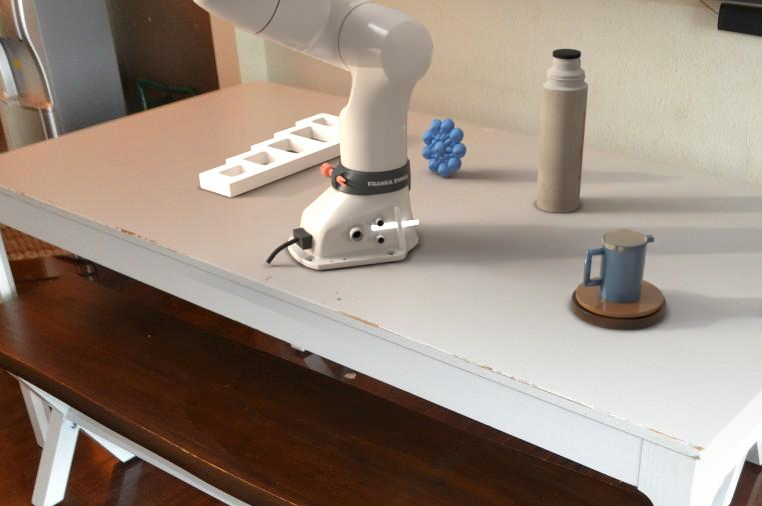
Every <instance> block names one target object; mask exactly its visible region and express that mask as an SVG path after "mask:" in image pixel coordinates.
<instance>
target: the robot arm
mask: <svg viewBox="0 0 762 506" xmlns="http://www.w3.org/2000/svg"><path fill="white" fill-rule="evenodd" d="M192 1H193V2H194V3H195V4H196V5H197V6H198V7H200V8H201V9H203V10H204V11H206V12H207V13H208V14H210V15H212V16H214V17H215V18H217V19H219V20H221V21H223V22H224V23H227V24H229V25H230V26H233V27H234V28H237V29H239V30H242V31H244V32H246V33H249V34H250V35H253V36H256V37H259V38H261V39H263V40H265V41H269V42H271V43H275V44H276V45H278V46H282V47H284V48H287V49H289V50H292V51H295V52H296V53H300V54H303V55H306V56H308V57H310V58H313V59H316V60H318V61H322V62H324V63H326V64H329V65H331V66H334V67H336V68H339V69H342V70H344V71H347V72H348V73H350V75H351V90H350V94H349V98H348V102H347V104H346V105H345V106H344V107H343V108H342V109H341V110H340V113H339V115H338V117H339V136H340V152H341V155H340V160H339V162H338V164H337V165H336V166H335V167H334V166H333V165H331V164H330V163H329V162H323V164H322V165H321V166H320V173H321V174H322V175H324V176H325V177H326V178H327V179H328V178H329V179H330V182H331V185H330V186H329V187H328V188H327V189H326V190H325V191H324V192H323V193H321V194H320V195H319V196H318V197H317V198H315V200H314V201H312V202H311V203H310V204H309V205H308V206H307V207H305V208H304V209H303V211H302V214H301V218H300V224H299V227H298V228H293V229H292V235H291V236H289V238H288V240H287V241H286V242H284V243H282V244H280V245H279V246H278V247H277V248H275V249H274V250H273V251H272V252H271V253H270V254H269V256H268V257H267V259H266V260H265V262H266V263H267V264H268V265H270V264H271V263H272V262H273V260H274V259H275V258H276V257H277V255H278V254H279V253H281V252H282V251H284V250H285V249H286V248H287V250H288V252H289V254H290V255H291V256H292V258H293V259H294V260H296V261H297V262H298V263H300V264H301V265H302V266H304V267H307V268H309V269H313V270H317V271H324V270H332V269H333V270H334V269H341V268H348V267H349V268H350V267H358V266H364V265H372V264H373V265H375V264H382V263H388V262H389V263H391V262H399V261H402V260H404V259H406V257H407V255H408V253H409V251H411V250H412V249H414V248H415V247H417V245H418V243H419V241H420V238H419V235H418V232H417V229H416V225H417V226H418V225H419V220H418V219H415V220H414V217H413V210H412V206H411V196H410V191H411V187H412V171H411V161H410V159H409V158H408V117H409V116H408V115H409V109H410V104H411V99H412V96H413V93H414V90H415V87H416V85H417V83H418V82H419V81H420V80H421V79H423V77H425V75H426V74H427V73H428V70H429V69H430V66H431V63H432V61H433V56H434V44H433V39H432V36H431V34H430V31H429V30H428V29H427V28H426V26H424V24H422V23H421V22H420V21H419V20H417V19H416V18H414V17H413V16H412V15H411V14H410V13H408V12H406V11H405V10H401V9H397V8H395V7H391V6H387V5H384V4H380V3H378V2H375V1H373V0H192Z"/></svg>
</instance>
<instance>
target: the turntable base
mask: <svg viewBox="0 0 762 506" xmlns="http://www.w3.org/2000/svg"><path fill="white" fill-rule="evenodd" d="M570 304H571V310H572V312H573V313H574V315H575V316H576V317H577V318H579V319H581V320H582V321H584V322H586V323H588V324H590V325H593V326H595V327H599V328H604V329H608V330H609V329H610V330H617V331H632V330H640V329H645V328H648V327H652V326H654V325H656V324H657V323H659V322H661V320H662V319H663V318H664V317H665V315H666V309H667V300H666V298H665V296H664V295H663V304H662V306H661V307H660V308H659V309H658V310H657V311H655V312H653V313H651V314H648V315H645V316H641V317H633V318H618V317H610V316H604V315H600V314H597V313H594V312H592V311H589V310H587V309H586V308H584V307H583V306H581V305H580V304H579V303H578V301H577V300H576V289H575V290H574V291H572V295H571V303H570Z"/></svg>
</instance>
